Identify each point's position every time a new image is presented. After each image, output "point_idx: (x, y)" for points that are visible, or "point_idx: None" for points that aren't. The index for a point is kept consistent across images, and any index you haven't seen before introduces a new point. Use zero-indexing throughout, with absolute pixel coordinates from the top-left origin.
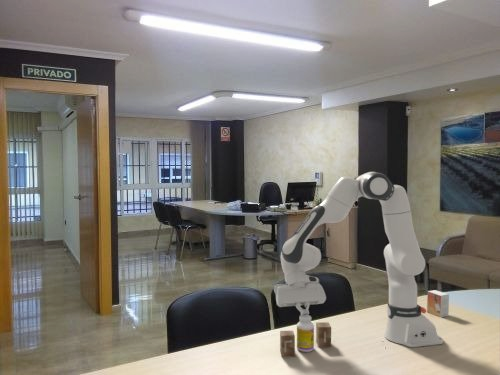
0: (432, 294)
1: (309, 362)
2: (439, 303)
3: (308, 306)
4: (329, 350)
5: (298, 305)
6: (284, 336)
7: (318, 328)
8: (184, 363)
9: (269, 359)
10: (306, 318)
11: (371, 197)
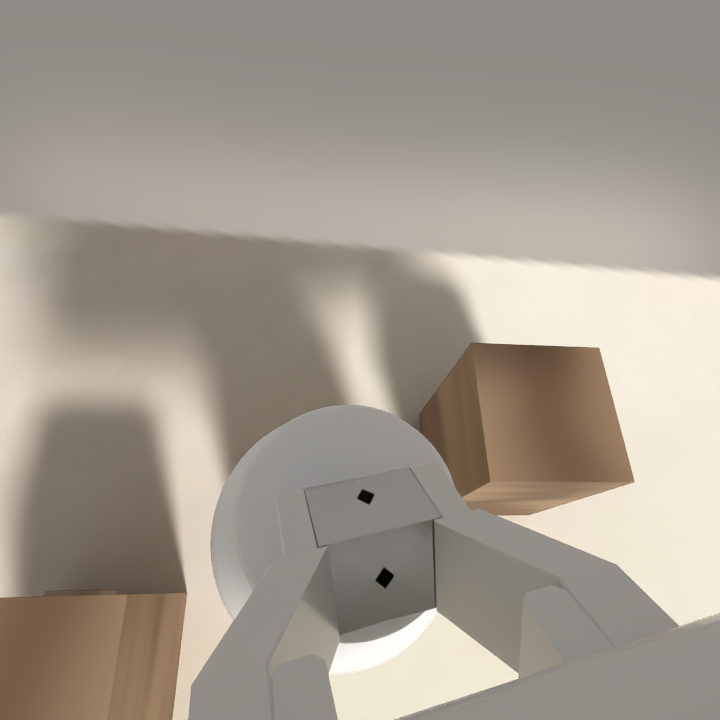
0: None
1: (327, 330)
2: None
3: (260, 610)
4: (109, 514)
5: (592, 566)
6: (568, 349)
7: (131, 607)
8: None
9: None
10: (344, 416)
11: None
